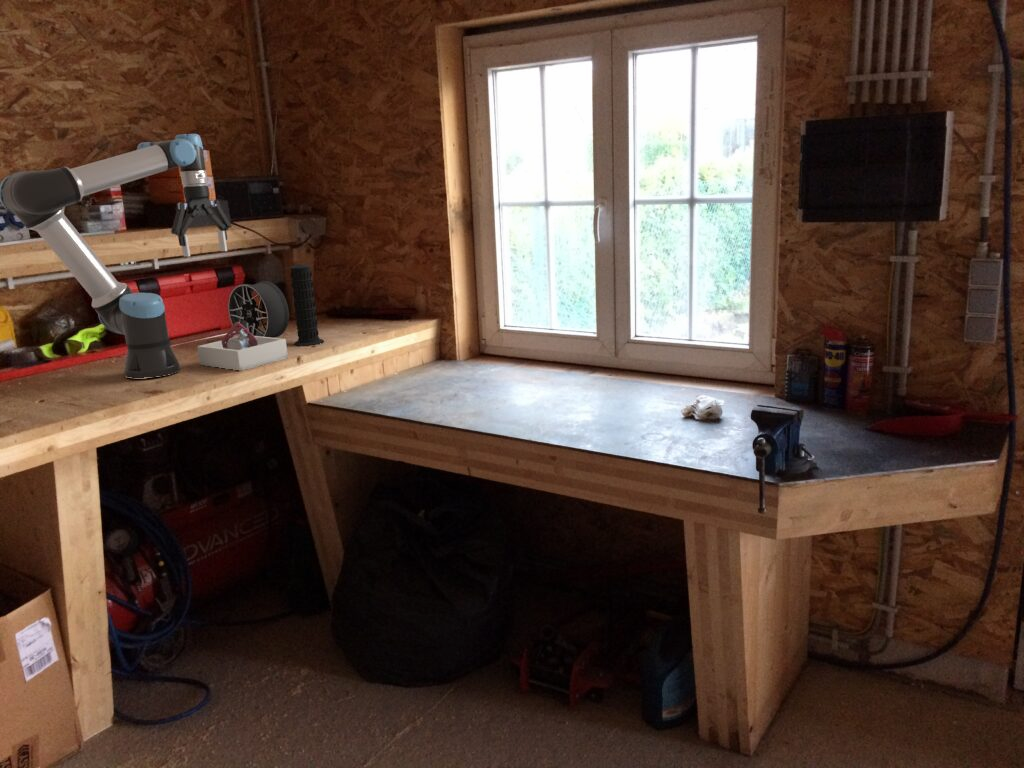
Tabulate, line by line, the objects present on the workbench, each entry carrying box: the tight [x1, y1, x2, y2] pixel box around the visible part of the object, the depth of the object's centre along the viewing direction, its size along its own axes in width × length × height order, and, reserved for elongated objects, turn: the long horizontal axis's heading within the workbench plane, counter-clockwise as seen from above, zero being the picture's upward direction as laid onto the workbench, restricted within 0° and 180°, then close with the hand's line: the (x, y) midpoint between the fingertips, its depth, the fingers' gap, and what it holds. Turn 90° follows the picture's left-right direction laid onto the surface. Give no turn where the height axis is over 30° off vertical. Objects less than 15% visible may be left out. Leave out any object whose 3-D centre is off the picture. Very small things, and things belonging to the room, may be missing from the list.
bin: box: [197, 336, 289, 372], centre depth 262 cm, size 18×19×6 cm
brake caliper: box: [221, 322, 258, 350], centre depth 260 cm, size 11×11×12 cm
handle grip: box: [289, 263, 325, 347], centre depth 283 cm, size 10×26×10 cm
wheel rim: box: [227, 280, 290, 338], centre depth 293 cm, size 20×9×20 cm, turn 56°
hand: (205, 253), depth 273 cm, fingers open, 13 cm apart
